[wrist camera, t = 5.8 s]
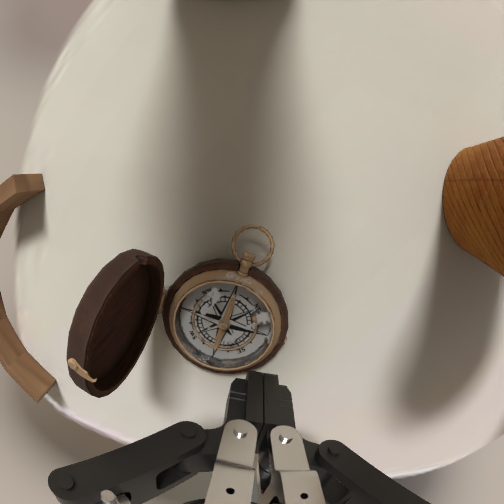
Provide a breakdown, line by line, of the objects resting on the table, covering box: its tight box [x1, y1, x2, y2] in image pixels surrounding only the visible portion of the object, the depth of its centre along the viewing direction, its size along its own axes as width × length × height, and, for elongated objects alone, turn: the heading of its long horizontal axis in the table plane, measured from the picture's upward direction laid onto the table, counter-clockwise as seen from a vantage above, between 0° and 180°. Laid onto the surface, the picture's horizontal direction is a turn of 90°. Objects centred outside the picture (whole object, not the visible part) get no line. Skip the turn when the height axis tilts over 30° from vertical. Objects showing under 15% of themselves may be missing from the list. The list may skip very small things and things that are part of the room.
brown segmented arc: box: [0, 174, 56, 403], centre depth 13 cm, size 6×16×2 cm, turn 168°
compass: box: [67, 225, 288, 398], centre depth 10 cm, size 8×8×7 cm
